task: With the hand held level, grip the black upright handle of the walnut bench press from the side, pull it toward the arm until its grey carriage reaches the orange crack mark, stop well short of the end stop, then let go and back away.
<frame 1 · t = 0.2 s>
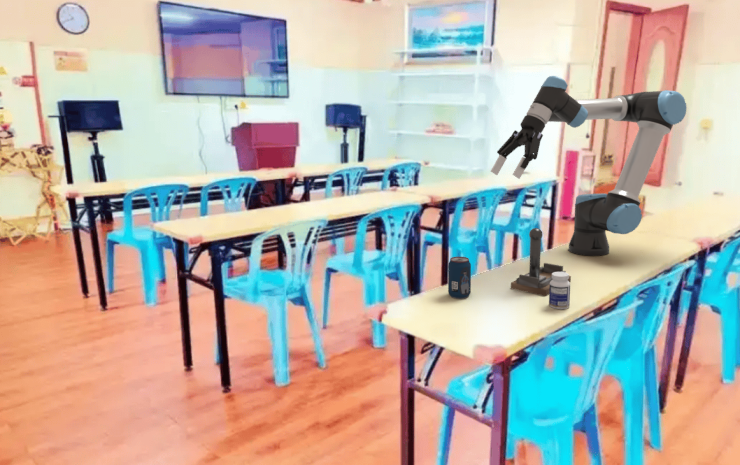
hand: (504, 175, 187), 35 cm above the table, fingers open, 13 cm apart
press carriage: (535, 255, 176), point 11 cm above the table, slide at 0.0 cm
press base: (541, 285, 182), on the table
pill bottle: (558, 307, 163), on the table
soda can: (459, 296, 174), on the table
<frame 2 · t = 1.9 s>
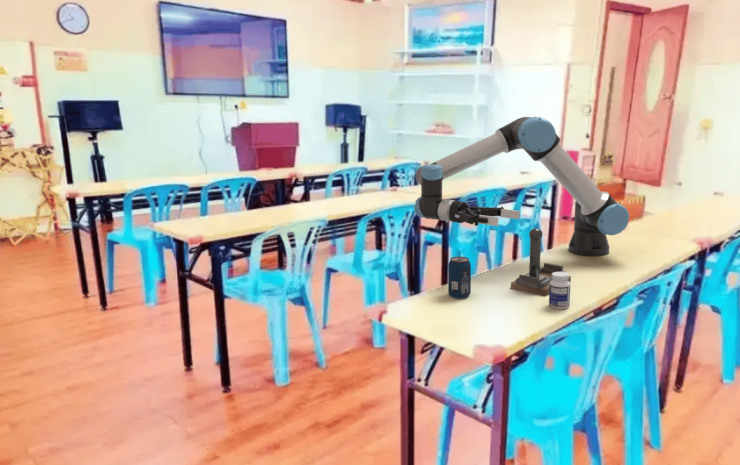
hand: (508, 218, 180), 22 cm above the table, fingers open, 13 cm apart
nothing on the table moved.
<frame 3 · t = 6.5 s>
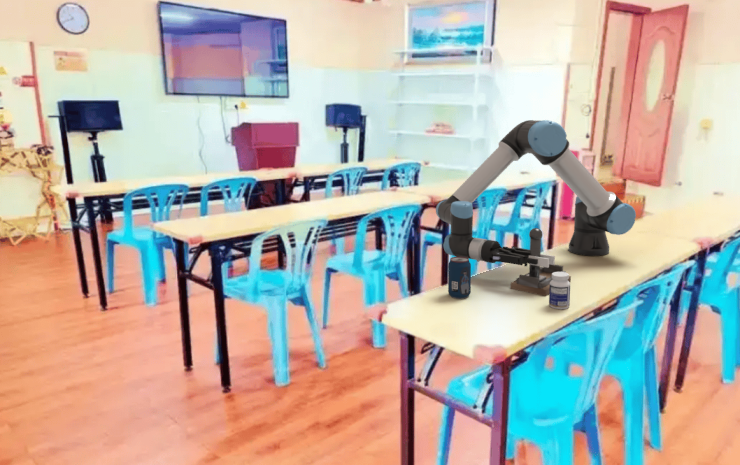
hand: (551, 261, 173), 10 cm above the table, fingers closed on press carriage, 3 cm apart
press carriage: (535, 255, 176), point 11 cm above the table, slide at 0.0 cm, touching gripper
everything else where it was.
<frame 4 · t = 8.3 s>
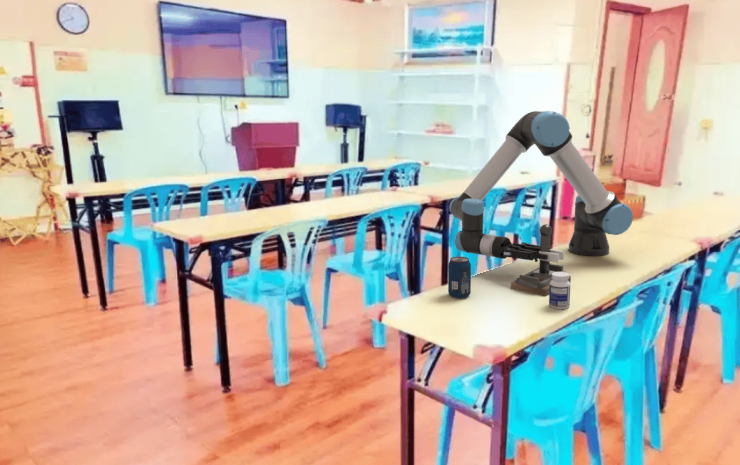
hand: (560, 257, 178), 10 cm above the table, fingers closed on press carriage, 3 cm apart
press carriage: (545, 251, 181), point 11 cm above the table, slide at 6.9 cm, touching gripper
everything else where it was.
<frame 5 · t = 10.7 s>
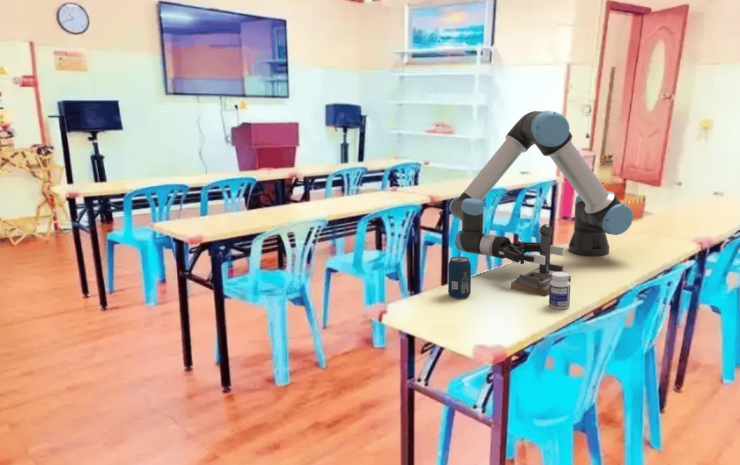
hand: (554, 255, 179), 10 cm above the table, fingers open, 13 cm apart
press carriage: (545, 251, 181), point 11 cm above the table, slide at 7.0 cm
everything else where it was.
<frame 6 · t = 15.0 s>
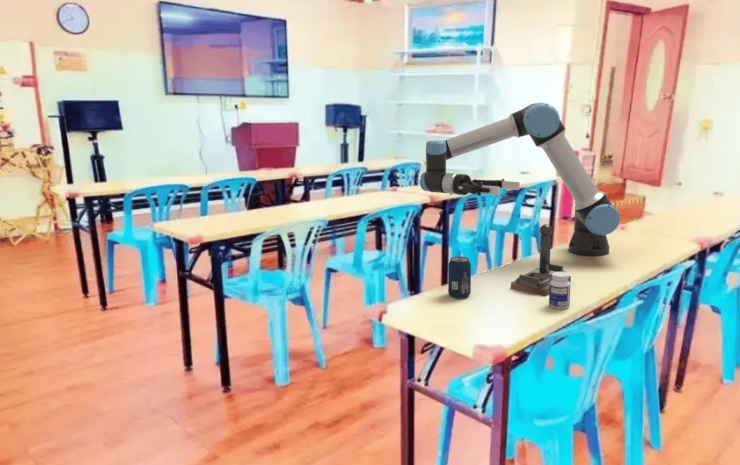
hand: (509, 188, 190), 30 cm above the table, fingers open, 13 cm apart
nothing on the table moved.
at the end: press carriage slide at 7.0 cm; the gripper is holding nothing; soda can moved 0.2 cm from its start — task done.
